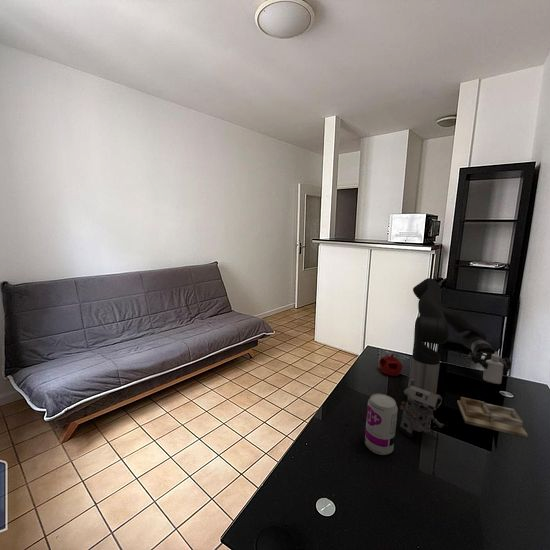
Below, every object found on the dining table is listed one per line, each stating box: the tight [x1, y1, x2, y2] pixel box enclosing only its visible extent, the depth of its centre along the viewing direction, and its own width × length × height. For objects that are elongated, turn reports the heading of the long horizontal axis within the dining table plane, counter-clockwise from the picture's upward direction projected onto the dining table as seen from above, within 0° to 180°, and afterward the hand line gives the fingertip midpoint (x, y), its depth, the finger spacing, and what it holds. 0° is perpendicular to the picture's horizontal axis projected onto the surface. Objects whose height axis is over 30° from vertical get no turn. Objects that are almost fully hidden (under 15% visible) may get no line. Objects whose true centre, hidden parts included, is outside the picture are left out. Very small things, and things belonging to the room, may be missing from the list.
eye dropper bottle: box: [482, 351, 504, 385], centre depth 110 cm, size 4×6×12 cm
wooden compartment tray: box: [456, 396, 529, 439], centre depth 100 cm, size 17×13×3 cm
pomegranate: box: [378, 353, 404, 377], centre depth 131 cm, size 10×10×9 cm
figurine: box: [398, 385, 449, 438], centre depth 91 cm, size 9×12×15 cm
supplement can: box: [364, 393, 399, 456], centre depth 85 cm, size 8×8×15 cm
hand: (496, 368), depth 107 cm, fingers closed on eye dropper bottle, 5 cm apart
